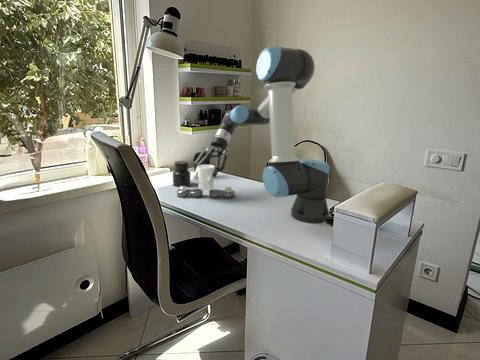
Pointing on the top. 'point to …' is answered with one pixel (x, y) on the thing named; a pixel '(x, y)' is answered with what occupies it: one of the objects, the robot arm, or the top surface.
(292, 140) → the robot arm
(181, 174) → the ink bottle
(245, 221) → the top surface
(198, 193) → the chain end left
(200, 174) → the white cup
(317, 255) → the top surface
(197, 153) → the black rounded slab
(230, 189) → the chain end right
